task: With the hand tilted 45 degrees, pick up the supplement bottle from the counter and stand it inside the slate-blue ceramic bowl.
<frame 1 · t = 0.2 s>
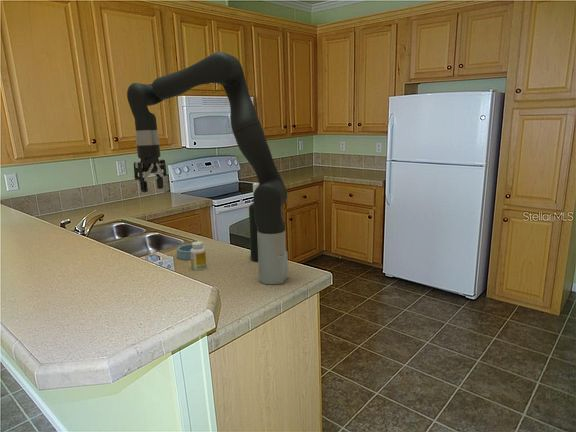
hand: (152, 190, 141), 29 cm above the table, tool pointing down, fingers open, 8 cm apart
bowl: (190, 256, 159), on the table
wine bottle: (258, 259, 154), on the table
supplement bottle: (199, 268, 146), on the table
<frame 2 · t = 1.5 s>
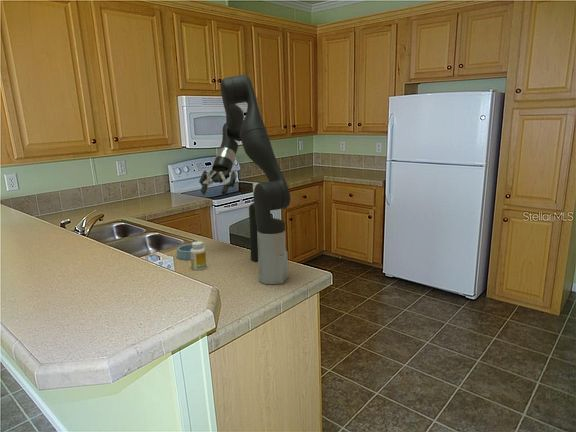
hand: (212, 193, 154), 25 cm above the table, tool tilted 45°, fingers open, 8 cm apart
nothing on the table moved.
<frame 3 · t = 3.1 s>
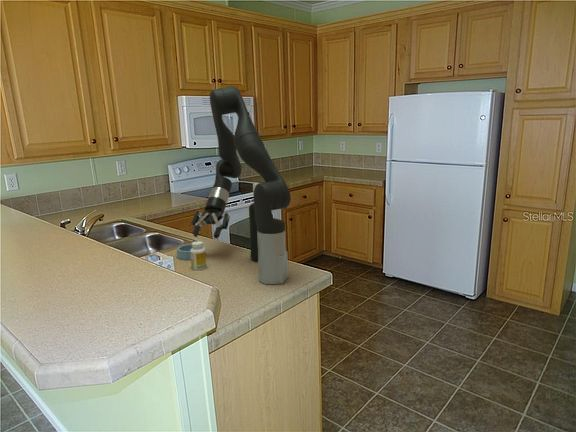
hand: (205, 236, 149), 10 cm above the table, tool tilted 45°, fingers open, 8 cm apart
nothing on the table moved.
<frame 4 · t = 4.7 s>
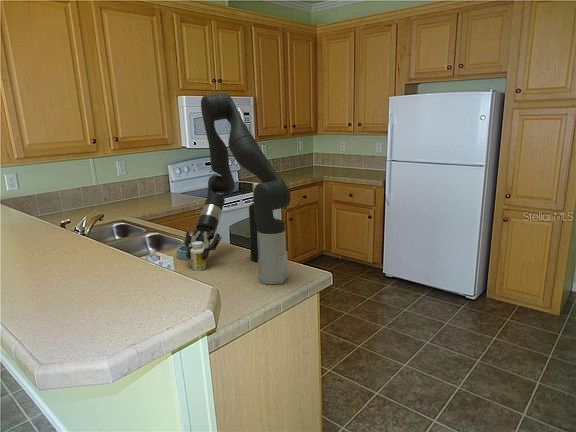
hand: (195, 258, 144), 4 cm above the table, tool tilted 45°, fingers closed on supplement bottle, 5 cm apart
supplement bottle: (199, 268, 146), on the table, touching gripper
everything else where it was.
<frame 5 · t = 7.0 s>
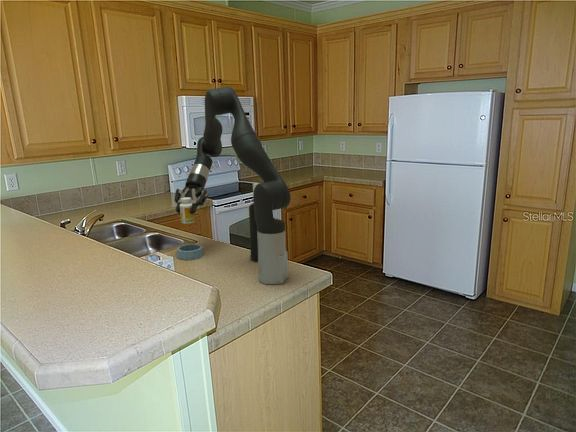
hand: (184, 212, 154), 18 cm above the table, tool tilted 45°, fingers closed on supplement bottle, 5 cm apart
supplement bottle: (187, 222, 156), point 14 cm above the table, touching gripper
everything else where it was.
when the fingers open (6 cm above the table, at t = 9.6 s): supplement bottle drops 1 cm, resting on bowl.
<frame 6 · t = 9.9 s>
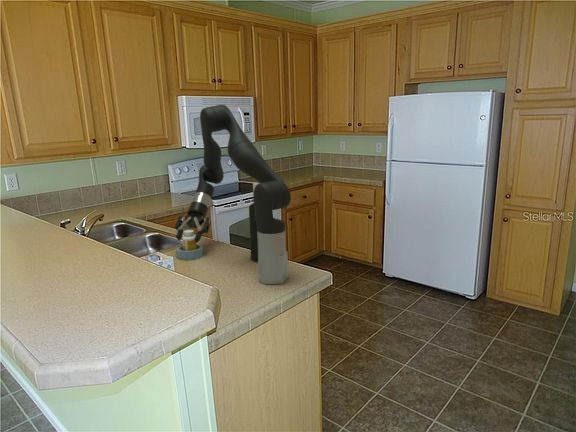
hand: (187, 240, 156), 7 cm above the table, tool tilted 45°, fingers open, 7 cm apart
supplement bottle: (190, 254, 159), point 1 cm above the table, touching bowl
everything else where it was.
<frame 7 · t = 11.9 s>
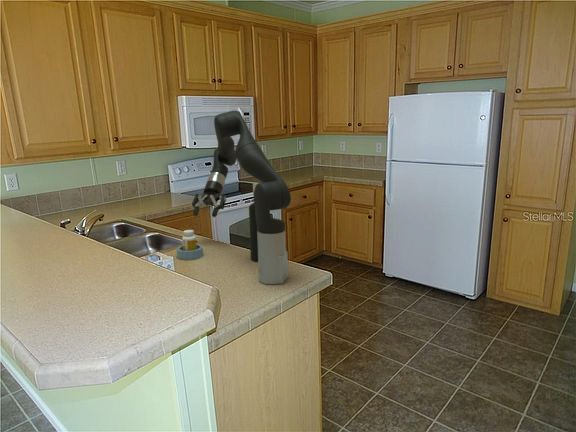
hand: (204, 215, 166), 14 cm above the table, tool tilted 45°, fingers open, 8 cm apart
nothing on the table moved.
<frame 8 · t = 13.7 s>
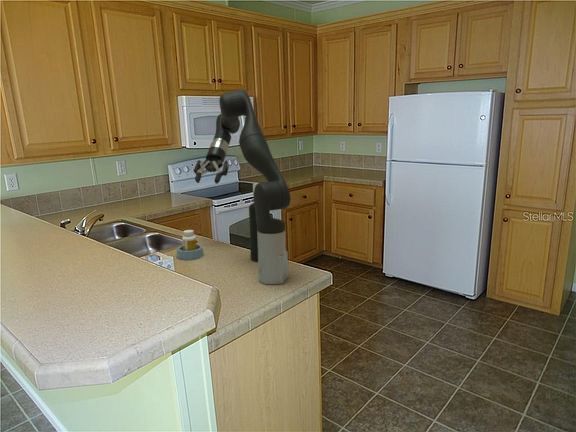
hand: (206, 182, 161), 29 cm above the table, tool tilted 45°, fingers open, 8 cm apart
nothing on the table moved.
at the end: supplement bottle 0.2 cm off-centre on the bowl, point 0.6 cm above the bowl's base; supplement bottle tilted 0°; the gripper is holding nothing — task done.
